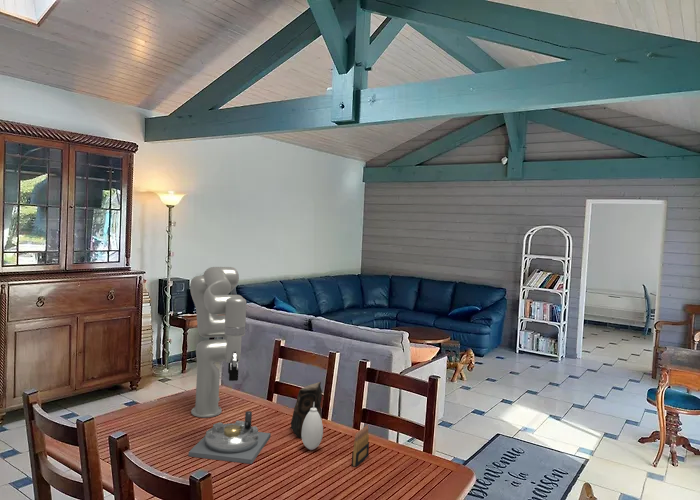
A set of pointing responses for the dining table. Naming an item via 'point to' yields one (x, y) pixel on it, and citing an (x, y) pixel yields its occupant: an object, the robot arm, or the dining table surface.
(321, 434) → the white air blower bulb
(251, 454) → the plate
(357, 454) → the brown flat upright block
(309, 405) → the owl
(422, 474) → the dining table surface
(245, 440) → the grey crank wheel
